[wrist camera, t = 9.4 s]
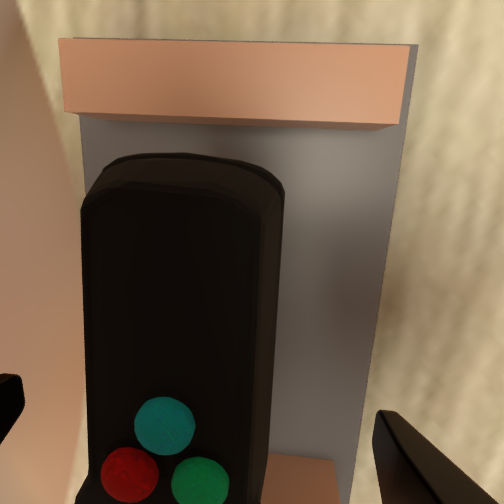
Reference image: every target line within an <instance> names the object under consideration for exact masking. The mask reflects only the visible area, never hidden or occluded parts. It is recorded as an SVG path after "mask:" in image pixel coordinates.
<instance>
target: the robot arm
mask: <svg viewBox="0 0 504 504" xmlns="http://www.w3.org/2000/svg"><path fill="white" fill-rule="evenodd" d="M24 406H25V397H24V391H23V384H22V379H21V377H20V376H19V375H17V374H7V373H4V374H0V444H1V443H2V441H3V440H4V438H5V437H6V435H7V434H8V432H9V431H10V429H11V428H12V426H13V425H14V423H15V422H16V421H17V419H18V418H19V416H20V415H21V413H22V411H23V409H24ZM372 448H373V454H374V459H375V465H376V470H377V476H378V482H379V487H380V493H381V498H382V504H499V503H498V502H497V501H495V500H494V499H493V498H492V497H491V496H490V495H489V494H488V493H487V492H485V491H484V490H483V489H482V488H481V487H480V486H479V485H478V484H476V483H475V482H474V481H473V480H472V479H471V478H470V477H469V476H468V475H466V474H465V473H464V472H463V471H462V470H461V469H460V468H459V467H457V466H456V465H455V464H454V463H453V462H452V461H451V460H450V459H449V458H447V457H446V456H445V455H444V454H443V453H442V452H441V451H440V450H438V449H437V448H436V447H435V446H434V445H433V444H432V443H431V442H430V441H428V440H427V439H426V438H425V437H424V436H423V435H422V434H421V433H419V432H418V431H417V430H416V429H415V428H414V427H413V426H412V425H411V424H409V423H408V422H407V421H406V420H405V419H404V418H403V417H402V416H400V415H399V414H398V413H397V412H395V411H388V410H379V411H378V412H377V414H376V418H375V425H374V431H373V437H372Z"/></svg>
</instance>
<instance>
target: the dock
mask: <svg viewBox="0 0 504 504" xmlns="http://www.w3.org/2000/svg"><path fill="white" fill-rule="evenodd" d="M58 44H59V54H60V65H61V76H62V87H63V98H64V109H65V112H69V113H74V114H78V115H79V117H80V130H81V142H82V154H83V167H84V179H85V192H86V195H87V193H88V192H89V190H90V188H91V187H92V185H93V184H94V182H95V180H96V179H97V177H98V176H99V175H100V173H101V172H102V169H103V168H104V167H105V166H107V165H108V164H110V163H111V162H113V161H114V160H115V159H117V158H120V157H123V156H127V155H134V154H139V153H176V152H187V153H194V154H201V155H208V156H215V157H222V158H229V159H235V160H242V161H245V162H248V163H252V164H255V165H258V166H261V167H263V168H264V169H266V170H268V171H269V172H271V173H272V174H273V175H274V176H275V177H276V178H277V179H278V180H279V181H280V182H281V183H282V185H283V188H284V190H285V204H284V220H283V235H282V250H281V266H280V281H279V297H278V312H277V327H276V343H275V358H274V373H273V389H272V404H271V420H270V435H269V450H268V460H267V466H266V472H265V478H264V484H263V490H262V495H261V501H260V502H261V504H349V500H350V494H351V487H352V481H353V474H354V467H355V461H356V454H357V448H358V441H359V435H360V428H361V421H362V415H363V408H364V402H365V395H366V388H367V382H368V375H369V369H370V362H371V355H372V349H373V342H374V336H375V329H376V322H377V316H378V309H379V303H380V296H381V290H382V283H383V276H384V270H385V263H386V257H387V250H388V243H389V237H390V230H391V224H392V217H393V210H394V204H395V197H396V191H397V184H398V178H399V171H400V164H401V158H402V151H403V145H404V138H405V131H406V125H407V118H408V112H409V105H410V98H411V92H412V85H413V79H414V72H415V65H416V59H417V52H418V46H419V45H413V44H365V43H316V42H267V41H218V40H169V39H120V38H73V39H64V38H58Z"/></svg>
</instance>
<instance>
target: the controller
mask: <svg viewBox="0 0 504 504" xmlns="http://www.w3.org/2000/svg"><path fill="white" fill-rule="evenodd" d="M284 204H285V190H284V188H283V185H282V183H281V182H280V181H279V180H278V179H277V178H276V177H275V176H274V175H273V174H272V173H271V172H269V171H268V170H266V169H264V168H263V167H261V166H258V165H255V164H252V163H248V162H245V161H242V160H235V159H229V158H222V157H215V156H208V155H201V154H194V153H187V152H176V153H139V154H134V155H127V156H123V157H120V158H117V159H115V160H114V161H113V162H111V163H110V164H108V165H107V166H105V167H104V168H103V169H102V172H101V173H100V175H99V176H98V177H97V179H96V180H95V182H94V184H93V185H92V187H91V188H90V190H89V192H88V193H87V195H86V197H85V198H84V201H83V204H82V207H81V210H80V213H81V254H82V284H83V311H84V343H85V372H86V401H87V430H88V459H89V470H88V475H87V477H86V479H85V481H84V483H83V485H82V486H81V488H80V490H79V492H78V494H77V496H76V499H75V504H261V502H260V501H261V495H262V490H263V484H264V478H265V472H266V466H267V460H268V450H269V435H270V420H271V404H272V389H273V373H274V358H275V343H276V327H277V312H278V297H279V281H280V266H281V250H282V235H283V220H284Z"/></svg>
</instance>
